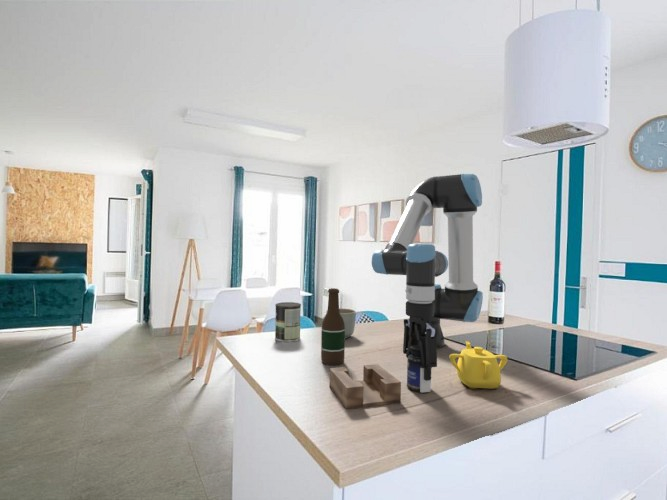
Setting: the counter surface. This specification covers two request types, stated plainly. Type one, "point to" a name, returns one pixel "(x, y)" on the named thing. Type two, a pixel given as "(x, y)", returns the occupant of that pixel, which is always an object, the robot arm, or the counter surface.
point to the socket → (365, 387)
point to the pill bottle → (414, 368)
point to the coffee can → (287, 321)
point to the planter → (348, 320)
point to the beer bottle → (333, 332)
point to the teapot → (478, 367)
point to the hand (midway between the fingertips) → (418, 386)
